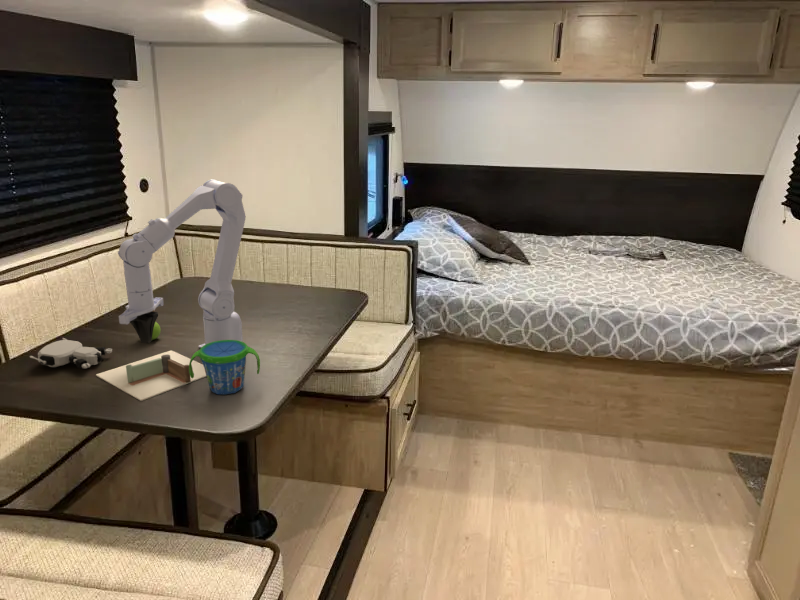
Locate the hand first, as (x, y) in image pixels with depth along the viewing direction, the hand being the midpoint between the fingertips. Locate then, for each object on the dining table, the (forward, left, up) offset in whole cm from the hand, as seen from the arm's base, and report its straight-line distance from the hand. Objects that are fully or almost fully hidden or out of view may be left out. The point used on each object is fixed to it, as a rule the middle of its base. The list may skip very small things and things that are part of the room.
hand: (146, 341), depth 152 cm
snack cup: (-4, +26, -6) cm, 27 cm away
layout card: (+2, +7, -6) cm, 9 cm away
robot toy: (+12, -14, -6) cm, 19 cm away
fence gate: (+5, +8, -5) cm, 11 cm away
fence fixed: (0, +12, -6) cm, 13 cm away
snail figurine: (-9, -15, -6) cm, 19 cm away
